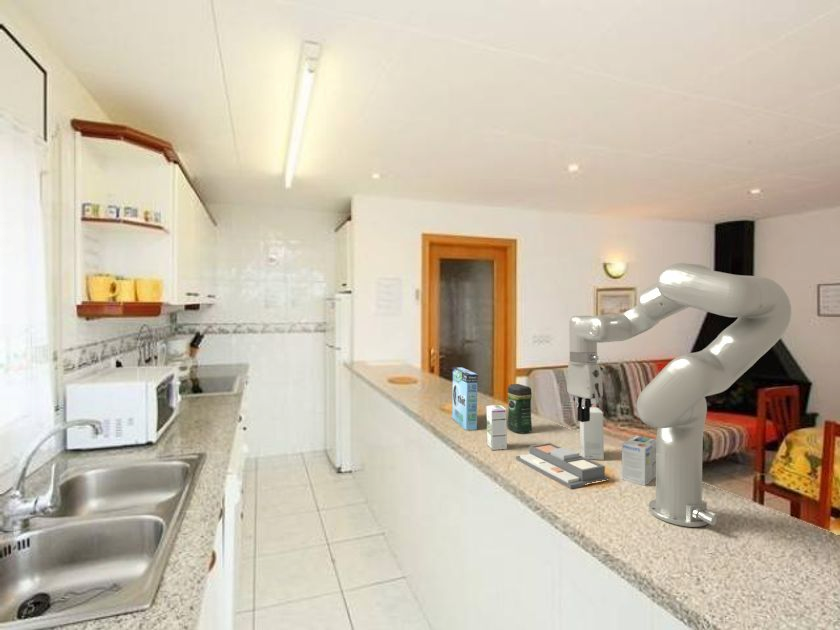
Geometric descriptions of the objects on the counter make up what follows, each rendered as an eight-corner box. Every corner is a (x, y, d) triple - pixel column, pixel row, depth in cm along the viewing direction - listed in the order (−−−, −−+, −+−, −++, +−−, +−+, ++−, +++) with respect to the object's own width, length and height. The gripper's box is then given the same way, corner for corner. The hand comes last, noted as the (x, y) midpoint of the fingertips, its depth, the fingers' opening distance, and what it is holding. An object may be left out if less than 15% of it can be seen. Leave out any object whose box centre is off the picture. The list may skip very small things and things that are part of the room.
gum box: (452, 419, 195) (451, 367, 195) (463, 418, 196) (462, 367, 196) (466, 431, 176) (466, 374, 176) (478, 430, 177) (478, 373, 177)
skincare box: (604, 460, 142) (604, 412, 142) (582, 459, 143) (582, 411, 143) (598, 452, 150) (599, 406, 150) (578, 451, 151) (578, 406, 151)
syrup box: (507, 449, 153) (507, 408, 153) (491, 450, 152) (491, 409, 152) (501, 444, 159) (501, 404, 159) (486, 445, 158) (486, 405, 158)
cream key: (598, 474, 127) (598, 466, 127) (582, 478, 124) (582, 469, 124) (583, 467, 132) (583, 459, 132) (567, 470, 130) (567, 462, 130)
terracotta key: (562, 458, 141) (562, 450, 141) (546, 460, 138) (546, 453, 138) (549, 452, 146) (549, 445, 146) (534, 454, 144) (534, 447, 144)
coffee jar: (535, 432, 173) (535, 385, 173) (518, 435, 170) (518, 387, 170) (521, 426, 182) (521, 382, 182) (504, 428, 179) (504, 383, 179)
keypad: (609, 480, 126) (609, 466, 126) (570, 488, 120) (570, 474, 120) (550, 453, 149) (550, 441, 149) (516, 459, 143) (515, 447, 143)
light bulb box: (634, 469, 134) (634, 434, 134) (658, 475, 129) (658, 439, 129) (620, 479, 127) (621, 442, 126) (645, 486, 122) (646, 447, 122)
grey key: (579, 461, 134) (579, 453, 134) (563, 464, 131) (563, 455, 131) (565, 455, 139) (565, 447, 139) (550, 457, 137) (550, 449, 137)
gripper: (613, 359, 122) (613, 425, 122) (574, 355, 136) (575, 414, 136) (592, 361, 119) (593, 428, 119) (555, 356, 133) (555, 416, 133)
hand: (583, 420), depth 128 cm, fingers closed
